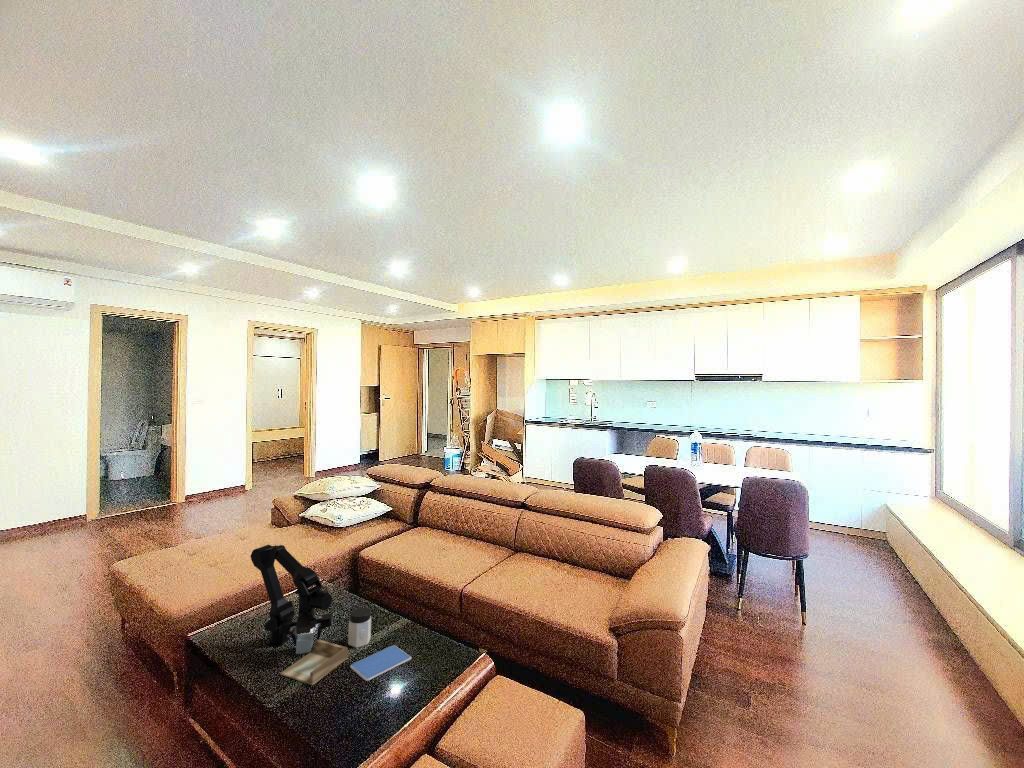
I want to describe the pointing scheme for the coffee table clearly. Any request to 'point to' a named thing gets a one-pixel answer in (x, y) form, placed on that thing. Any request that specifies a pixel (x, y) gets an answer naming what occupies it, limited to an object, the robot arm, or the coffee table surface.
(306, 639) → the cube
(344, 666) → the coffee table surface
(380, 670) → the tablet computer
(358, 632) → the jar
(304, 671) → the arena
